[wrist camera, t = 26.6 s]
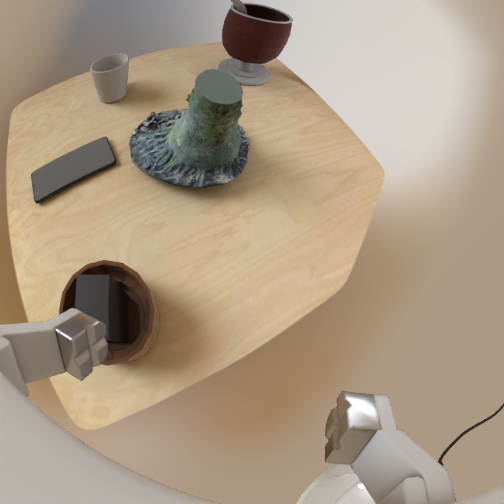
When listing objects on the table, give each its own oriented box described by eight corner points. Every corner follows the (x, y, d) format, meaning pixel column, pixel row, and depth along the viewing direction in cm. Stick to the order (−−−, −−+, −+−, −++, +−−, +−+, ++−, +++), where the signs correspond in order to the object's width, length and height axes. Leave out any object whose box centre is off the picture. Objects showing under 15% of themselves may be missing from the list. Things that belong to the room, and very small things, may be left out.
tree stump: (189, 98, 46) (222, 29, 30) (255, 170, 49) (313, 115, 33) (108, 140, 38) (113, 59, 22) (180, 228, 41) (218, 174, 25)
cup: (89, 105, 40) (82, 72, 33) (112, 78, 44) (109, 48, 36) (120, 107, 41) (116, 72, 34) (141, 80, 45) (141, 48, 38)
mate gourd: (275, 67, 57) (300, 4, 39) (268, 94, 51) (298, 17, 33) (216, 53, 54) (232, -13, 36) (199, 77, 49) (214, -2, 31)
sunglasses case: (128, 294, 31) (109, 274, 22) (129, 343, 29) (109, 339, 20) (102, 294, 30) (76, 274, 22) (102, 342, 28) (75, 338, 20)
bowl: (164, 282, 33) (160, 268, 27) (155, 369, 29) (148, 373, 23) (87, 269, 31) (70, 254, 25) (74, 352, 27) (53, 350, 21)
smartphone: (116, 161, 36) (34, 203, 30) (117, 164, 37) (36, 205, 31) (106, 134, 38) (30, 172, 32) (106, 138, 38) (32, 175, 33)
